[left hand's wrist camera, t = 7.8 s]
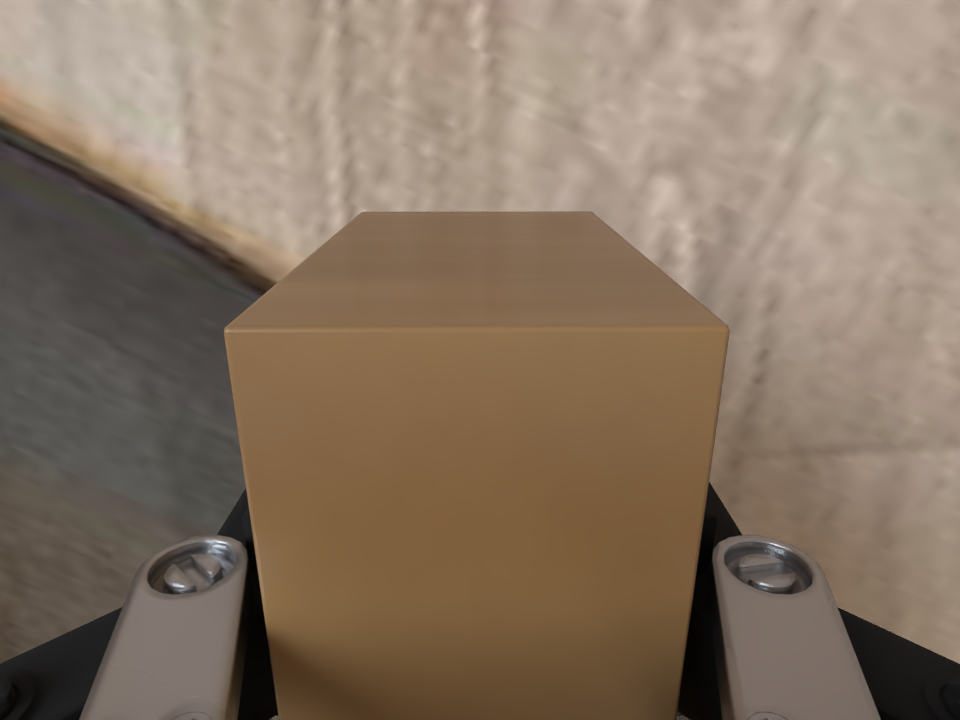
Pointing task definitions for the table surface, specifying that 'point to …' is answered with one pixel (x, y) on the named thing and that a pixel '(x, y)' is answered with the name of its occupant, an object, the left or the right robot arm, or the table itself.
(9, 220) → the table surface
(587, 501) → the bar
